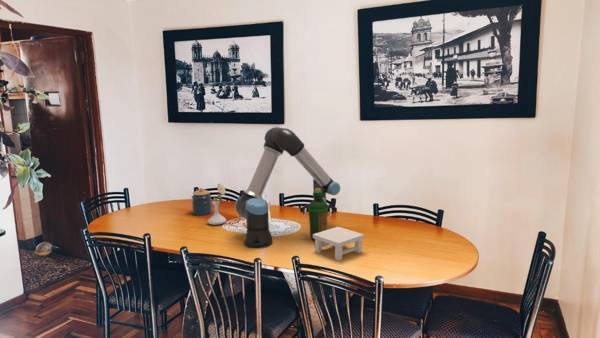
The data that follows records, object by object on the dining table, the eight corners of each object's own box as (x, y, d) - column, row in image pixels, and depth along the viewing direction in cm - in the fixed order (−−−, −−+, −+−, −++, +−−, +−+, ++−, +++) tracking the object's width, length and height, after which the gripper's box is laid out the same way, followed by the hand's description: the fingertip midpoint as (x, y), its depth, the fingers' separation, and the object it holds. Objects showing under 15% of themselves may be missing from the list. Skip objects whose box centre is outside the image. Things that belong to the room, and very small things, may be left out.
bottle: (328, 242, 226) (328, 190, 221) (308, 242, 226) (307, 191, 222) (327, 235, 237) (327, 186, 232) (308, 235, 237) (307, 186, 232)
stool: (338, 261, 199) (338, 243, 198) (313, 251, 213) (312, 234, 211) (364, 251, 211) (364, 234, 209) (338, 242, 224) (338, 226, 223)
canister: (191, 212, 291) (189, 187, 288) (209, 209, 296) (208, 185, 293) (194, 216, 279) (193, 190, 276) (214, 214, 285) (212, 188, 282)
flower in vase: (216, 227, 256) (214, 186, 252) (203, 224, 263) (201, 184, 258) (232, 222, 266) (230, 183, 262) (219, 219, 273) (217, 181, 269)
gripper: (340, 210, 246) (341, 220, 225) (298, 210, 248) (294, 220, 227) (340, 197, 245) (341, 207, 224) (297, 197, 247) (294, 207, 226)
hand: (318, 214), depth 226 cm, fingers open, 13 cm apart
